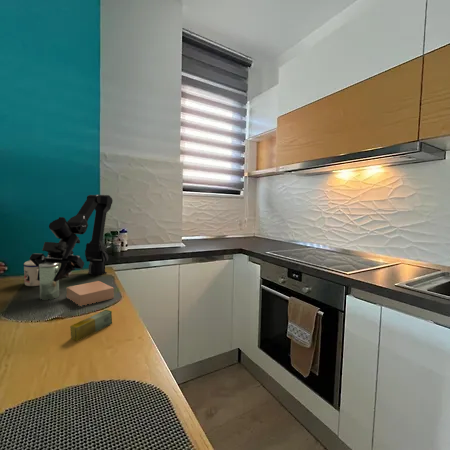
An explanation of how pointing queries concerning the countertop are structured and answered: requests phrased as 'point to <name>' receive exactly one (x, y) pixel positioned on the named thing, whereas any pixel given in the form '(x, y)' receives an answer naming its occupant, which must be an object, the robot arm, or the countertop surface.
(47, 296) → the sage tin
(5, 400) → the countertop surface
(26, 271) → the teacup with lid
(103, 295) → the terracotta base
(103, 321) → the medication box
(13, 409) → the countertop surface
